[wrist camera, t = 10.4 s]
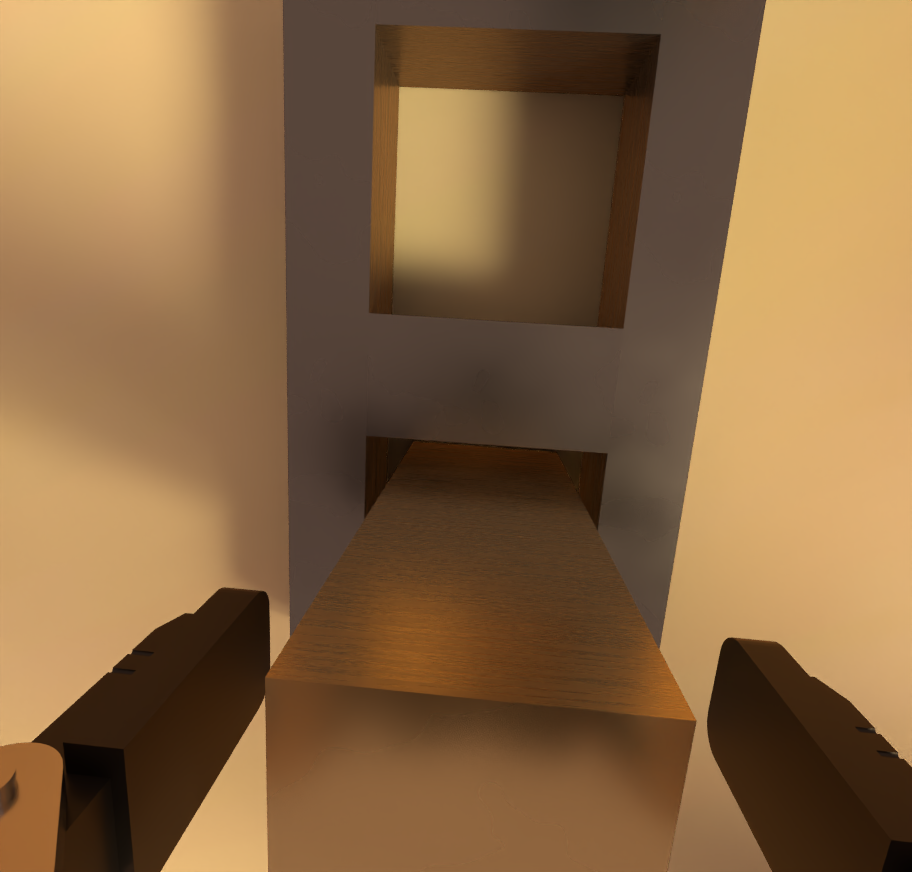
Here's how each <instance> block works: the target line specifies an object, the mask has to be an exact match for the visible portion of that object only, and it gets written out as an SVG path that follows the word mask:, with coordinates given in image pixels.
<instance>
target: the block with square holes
mask: <svg viewBox="0 0 912 872" xmlns="http://www.w3.org/2000/svg"><path fill="white" fill-rule="evenodd" d="M765 3H766V0H283V37H284V127H285V217H286V307H287V397H288V487H289V577H290V637H291V635H292V634H293V632H294V631H295V629H296V627H297V626H298V624H299V623H300V621H301V619H302V618H303V616H304V615H305V613H306V612H307V610H308V608H309V607H310V605H311V604H312V602H313V600H314V599H315V597H316V596H317V594H318V592H319V591H320V589H321V588H322V586H323V585H324V583H325V581H326V580H327V578H328V577H329V575H330V573H331V572H332V570H333V569H334V567H335V566H336V564H337V562H338V561H339V559H340V558H341V556H342V554H343V553H344V551H345V550H346V548H347V546H348V545H349V543H350V542H351V540H352V539H353V537H354V535H355V534H356V532H357V531H358V529H359V527H360V526H361V524H362V523H363V521H364V520H365V518H366V516H367V515H368V513H369V512H370V510H371V508H372V507H373V505H374V504H375V502H376V500H377V499H378V497H379V496H380V494H381V493H382V491H383V489H384V488H385V486H386V479H387V448H388V437H390V438H403V439H417V440H431V441H445V442H458V443H472V444H486V445H500V446H514V447H527V448H541V449H555V450H569V451H583V454H582V462H581V471H580V479H579V488H578V494H579V496H580V498H581V500H582V502H583V504H584V506H585V508H586V510H587V512H588V513H589V515H590V517H591V519H592V521H593V523H594V525H595V527H596V529H597V531H598V533H599V535H600V537H601V538H602V540H603V542H604V544H605V546H606V548H607V550H608V552H609V554H610V556H611V558H612V560H613V562H614V563H615V565H616V567H617V569H618V571H619V573H620V575H621V577H622V579H623V581H624V583H625V585H626V586H627V588H628V590H629V592H630V594H631V596H632V598H633V600H634V602H635V604H636V606H637V608H638V610H639V611H640V613H641V615H642V617H643V619H644V621H645V623H646V625H647V627H648V629H649V631H650V633H651V635H652V636H653V638H654V640H655V642H656V644H657V646H658V648H660V642H661V636H662V630H663V624H664V618H665V612H666V606H667V600H668V593H669V587H670V581H671V575H672V569H673V563H674V557H675V551H676V545H677V539H678V533H679V527H680V520H681V514H682V508H683V502H684V496H685V490H686V484H687V478H688V472H689V466H690V460H691V453H692V447H693V441H694V435H695V429H696V423H697V417H698V411H699V405H700V399H701V393H702V387H703V380H704V374H705V368H706V362H707V356H708V350H709V344H710V338H711V332H712V326H713V320H714V313H715V307H716V301H717V295H718V289H719V283H720V277H721V271H722V265H723V259H724V253H725V247H726V240H727V234H728V228H729V222H730V216H731V210H732V204H733V198H734V192H735V186H736V180H737V173H738V167H739V161H740V155H741V149H742V143H743V137H744V131H745V125H746V119H747V113H748V107H749V100H750V94H751V88H752V82H753V76H754V70H755V64H756V58H757V52H758V46H759V40H760V33H761V27H762V21H763V15H764V9H765ZM399 87H424V88H448V89H473V90H498V91H522V92H547V93H572V94H596V95H621V96H624V103H623V111H622V120H621V129H620V137H619V146H618V154H617V163H616V171H615V180H614V188H613V197H612V206H611V214H610V223H609V231H608V240H607V248H606V257H605V265H604V274H603V283H602V291H601V300H600V308H599V317H598V325H597V327H587V326H570V325H554V324H538V323H521V322H505V321H489V320H473V319H456V318H440V317H424V316H407V315H392V292H393V260H394V229H395V198H396V167H397V136H398V104H399Z"/></svg>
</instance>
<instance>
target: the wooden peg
mask: <svg viewBox="0 0 912 872" xmlns="http://www.w3.org/2000/svg"><path fill="white" fill-rule="evenodd" d="M265 707H266V767H267V827H268V872H667V870H668V865H669V859H670V854H671V849H672V844H673V839H674V834H675V829H676V824H677V818H678V813H679V808H680V803H681V798H682V793H683V788H684V783H685V777H686V772H687V767H688V762H689V757H690V752H691V747H692V742H693V736H694V731H695V726H696V719H695V717H694V715H693V713H692V711H691V709H690V708H689V706H688V704H687V702H686V700H685V698H684V696H683V694H682V692H681V690H680V688H679V686H678V684H677V683H676V681H675V679H674V677H673V675H672V673H671V671H670V669H669V667H668V665H667V663H666V661H665V659H664V658H663V656H662V654H661V652H660V650H659V648H658V646H657V644H656V642H655V640H654V638H653V636H652V635H651V633H650V631H649V629H648V627H647V625H646V623H645V621H644V619H643V617H642V615H641V613H640V611H639V610H638V608H637V606H636V604H635V602H634V600H633V598H632V596H631V594H630V592H629V590H628V588H627V586H626V585H625V583H624V581H623V579H622V577H621V575H620V573H619V571H618V569H617V567H616V565H615V563H614V562H613V560H612V558H611V556H610V554H609V552H608V550H607V548H606V546H605V544H604V542H603V540H602V538H601V537H600V535H599V533H598V531H597V529H596V527H595V525H594V523H593V521H592V519H591V517H590V515H589V513H588V512H587V510H586V508H585V506H584V504H583V502H582V500H581V498H580V496H579V494H578V492H577V490H576V489H575V487H574V485H573V483H572V481H571V479H570V477H569V475H568V473H567V471H566V469H565V467H564V465H563V464H562V462H561V460H560V458H559V456H558V454H557V452H550V451H537V450H524V449H511V448H499V447H486V446H473V445H460V444H448V443H435V442H422V441H414V442H413V443H412V445H411V447H410V448H409V450H408V451H407V453H406V454H405V456H404V458H403V459H402V461H401V462H400V464H399V466H398V467H397V469H396V470H395V472H394V474H393V475H392V477H391V478H390V480H389V481H388V483H387V485H386V486H385V488H384V489H383V491H382V493H381V494H380V496H379V497H378V499H377V500H376V502H375V504H374V505H373V507H372V508H371V510H370V512H369V513H368V515H367V516H366V518H365V520H364V521H363V523H362V524H361V526H360V527H359V529H358V531H357V532H356V534H355V535H354V537H353V539H352V540H351V542H350V543H349V545H348V546H347V548H346V550H345V551H344V553H343V554H342V556H341V558H340V559H339V561H338V562H337V564H336V566H335V567H334V569H333V570H332V572H331V573H330V575H329V577H328V578H327V580H326V581H325V583H324V585H323V586H322V588H321V589H320V591H319V592H318V594H317V596H316V597H315V599H314V600H313V602H312V604H311V605H310V607H309V608H308V610H307V612H306V613H305V615H304V616H303V618H302V619H301V621H300V623H299V624H298V626H297V627H296V629H295V631H294V632H293V634H292V635H291V637H290V639H289V640H288V642H287V643H286V645H285V646H284V648H283V650H282V651H281V653H280V654H279V656H278V658H277V659H276V661H275V662H274V664H273V665H272V667H271V669H270V670H269V672H268V673H267V675H266V677H265Z"/></svg>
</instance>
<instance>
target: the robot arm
mask: <svg viewBox="0 0 912 872" xmlns="http://www.w3.org/2000/svg"><path fill="white" fill-rule="evenodd" d="M269 670H270V616H269V598H268V595H267V594H266V592H264V591H255V590H245V589H235V588H221V589H219V590H218V591H217V592H216V593H215V594H214V595H213V596H212V597H210V598H209V599H208V600H207V601H206V602H205V603H204V604H203V605H202V606H201V607H200V608H199V609H198V610H197V611H196V612H195V613H194V614H189V613H185V614H183V615H181V616H179V617H177V618H176V619H174V620H172V621H170V622H168V623H166V624H164V625H162V626H160V627H158V628H157V629H155V630H154V631H153V632H152V633H151V634H149V635H148V636H147V637H146V638H145V639H144V640H143V641H142V642H141V643H140V644H138V645H137V646H136V647H135V648H134V649H133V651H132V654H128V655H126V656H125V657H124V658H123V659H122V660H121V661H120V662H119V663H118V664H117V665H115V666H114V667H113V671H112V672H111V673H109V672H108V673H107V674H106V675H104V676H103V677H102V678H101V679H100V680H99V681H98V682H97V683H96V684H95V685H94V686H92V687H91V688H90V689H89V690H88V691H87V692H86V693H85V694H84V695H83V696H81V697H80V698H79V699H78V700H77V701H76V702H75V703H74V704H73V705H72V706H71V707H69V708H68V709H67V710H66V711H65V712H64V713H63V714H62V715H61V716H60V717H58V718H57V719H56V720H55V721H54V722H53V723H52V724H51V725H50V726H49V727H47V728H46V729H45V730H44V731H43V732H42V733H41V734H40V735H39V736H38V737H37V738H35V739H34V740H33V741H32V742H29V743H16V744H10V745H5V746H1V747H0V872H160V871H161V870H162V868H163V866H164V865H165V863H166V861H167V860H168V858H169V856H170V855H171V853H172V851H173V850H174V848H175V846H176V845H177V843H178V842H179V840H180V838H181V837H182V835H183V833H184V832H185V830H186V828H187V827H188V825H189V823H190V822H191V820H192V818H193V817H194V815H195V813H196V812H197V810H198V808H199V807H200V805H201V803H202V802H203V800H204V798H205V797H206V795H207V793H208V792H209V790H210V788H211V787H212V785H213V784H214V782H215V780H216V779H217V777H218V775H219V774H220V772H221V770H222V769H223V767H224V765H225V764H226V762H227V760H228V759H229V757H230V755H231V754H232V752H233V750H234V749H235V747H236V745H237V744H238V742H239V740H240V739H241V737H242V735H243V734H244V732H245V730H246V729H247V727H248V726H249V724H250V722H251V721H252V719H253V717H254V716H255V714H256V712H257V711H258V709H259V707H260V705H261V703H262V701H263V699H264V696H265V677H266V675H267V673H268V672H269ZM707 730H708V738H709V743H710V747H711V750H712V753H713V756H714V758H715V760H716V762H717V764H718V766H719V768H720V770H721V772H722V774H723V776H724V778H725V780H726V782H727V784H728V786H729V788H730V790H731V792H732V794H733V796H734V797H735V799H736V801H737V803H738V805H739V807H740V809H741V811H742V813H743V815H744V817H745V819H746V821H747V823H748V825H749V827H750V829H751V831H752V833H753V835H754V837H755V839H756V841H757V843H758V845H759V846H760V848H761V850H762V852H763V854H764V856H765V858H766V860H767V862H768V864H769V866H770V868H771V870H772V872H912V767H911V766H910V765H909V764H908V763H907V762H906V761H905V760H904V759H899V757H898V752H897V751H896V750H895V749H894V748H893V747H892V746H891V745H890V744H889V743H888V742H887V741H886V739H885V738H884V737H883V736H882V735H881V734H876V732H875V728H874V727H873V726H872V725H871V724H870V723H869V721H868V720H867V719H866V718H865V717H864V716H863V715H862V714H861V713H860V712H859V711H858V710H857V709H856V708H855V707H854V706H853V704H852V703H851V702H850V701H848V700H847V699H846V698H844V697H843V696H841V695H840V694H838V693H837V692H835V691H834V690H833V689H831V688H830V687H828V686H827V685H825V684H824V683H823V682H821V681H820V680H818V679H817V678H815V677H810V676H809V675H808V674H807V673H806V672H805V671H804V670H803V668H802V667H801V666H800V665H799V664H798V663H797V662H796V661H795V660H794V658H793V657H792V656H791V655H790V654H789V653H788V652H787V651H786V650H785V648H784V647H783V646H782V645H780V644H779V643H777V642H772V641H762V640H751V639H741V638H727V639H726V640H725V641H724V643H723V645H722V647H721V651H720V656H719V661H718V666H717V671H716V676H715V681H714V686H713V691H712V696H711V701H710V706H709V711H708V717H707Z"/></svg>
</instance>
